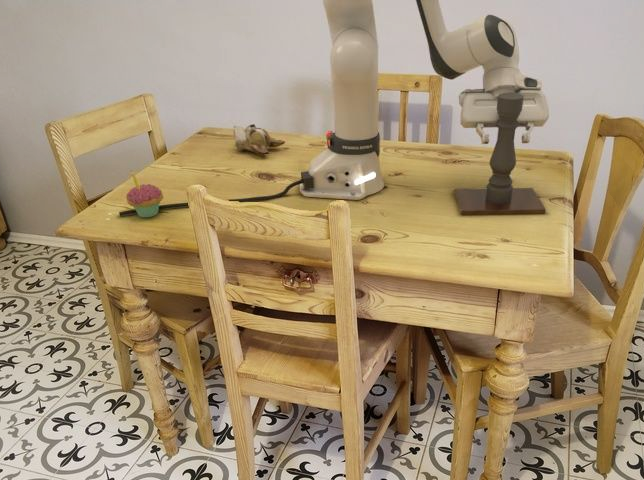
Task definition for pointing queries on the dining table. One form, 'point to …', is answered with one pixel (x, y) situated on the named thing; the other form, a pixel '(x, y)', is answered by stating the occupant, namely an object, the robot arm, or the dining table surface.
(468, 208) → the board
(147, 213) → the cupcake
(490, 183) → the candle holder
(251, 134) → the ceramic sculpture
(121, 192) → the dining table surface
